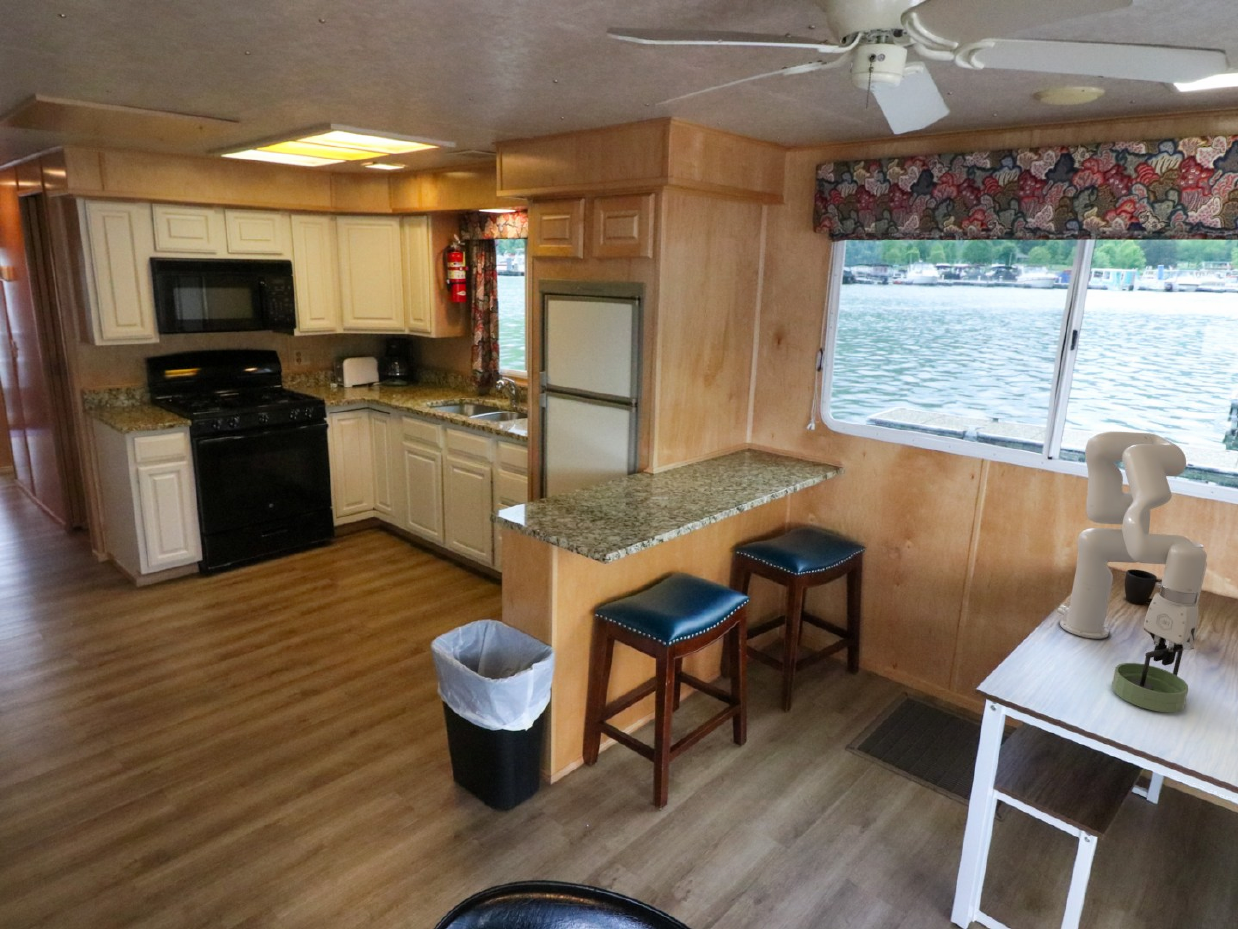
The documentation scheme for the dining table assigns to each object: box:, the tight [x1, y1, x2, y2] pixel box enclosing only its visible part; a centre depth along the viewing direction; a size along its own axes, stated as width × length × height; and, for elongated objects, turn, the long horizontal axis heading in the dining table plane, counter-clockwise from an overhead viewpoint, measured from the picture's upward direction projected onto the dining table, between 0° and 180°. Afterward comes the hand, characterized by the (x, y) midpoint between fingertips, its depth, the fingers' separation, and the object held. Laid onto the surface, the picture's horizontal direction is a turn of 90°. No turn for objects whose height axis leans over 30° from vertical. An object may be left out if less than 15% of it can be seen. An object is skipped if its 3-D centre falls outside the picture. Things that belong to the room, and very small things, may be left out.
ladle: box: [1130, 647, 1185, 691], centre depth 196 cm, size 15×5×11 cm, turn 112°
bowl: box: [1111, 662, 1189, 713], centre depth 195 cm, size 15×15×6 cm
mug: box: [1124, 569, 1162, 606], centre depth 252 cm, size 8×12×10 cm
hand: (1162, 661), depth 196 cm, fingers closed on ladle, 1 cm apart
